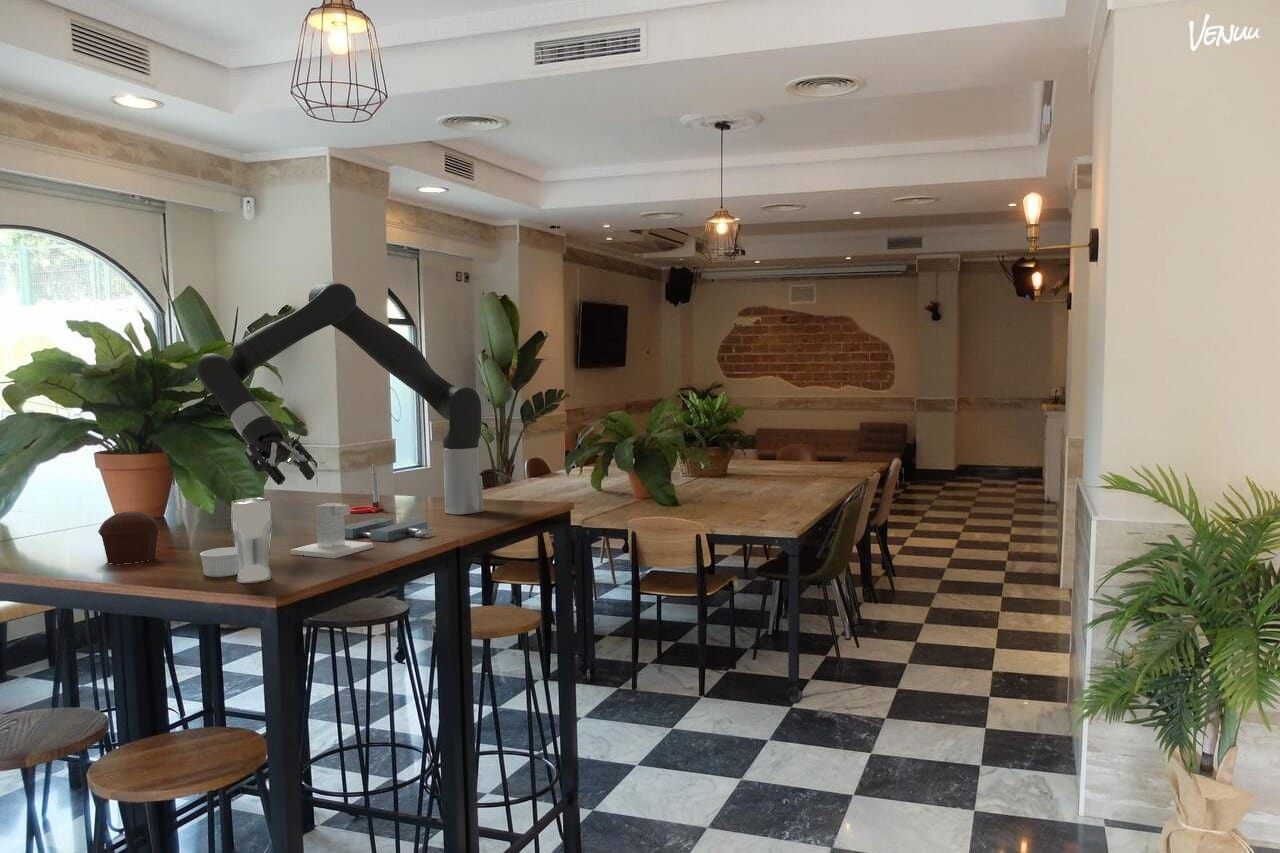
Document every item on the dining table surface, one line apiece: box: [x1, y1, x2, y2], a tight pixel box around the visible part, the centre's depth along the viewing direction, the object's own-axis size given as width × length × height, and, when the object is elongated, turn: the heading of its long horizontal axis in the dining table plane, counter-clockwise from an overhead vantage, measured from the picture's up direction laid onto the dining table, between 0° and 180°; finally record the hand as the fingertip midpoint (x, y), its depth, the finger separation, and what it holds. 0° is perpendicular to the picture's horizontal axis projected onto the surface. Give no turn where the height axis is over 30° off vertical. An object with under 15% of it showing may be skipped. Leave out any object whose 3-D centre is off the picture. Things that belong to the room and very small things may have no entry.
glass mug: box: [315, 502, 351, 549], centre depth 206 cm, size 6×4×9 cm, turn 63°
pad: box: [290, 540, 374, 559], centre depth 207 cm, size 12×12×1 cm
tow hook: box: [350, 463, 384, 514], centre depth 260 cm, size 8×13×9 cm
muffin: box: [97, 511, 162, 565], centre depth 201 cm, size 12×11×10 cm
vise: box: [344, 518, 435, 543], centre depth 224 cm, size 20×14×2 cm
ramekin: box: [199, 546, 238, 578], centre depth 187 cm, size 9×9×4 cm
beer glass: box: [230, 497, 273, 584], centre depth 180 cm, size 7×7×15 cm
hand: (297, 479), depth 209 cm, fingers open, 8 cm apart
